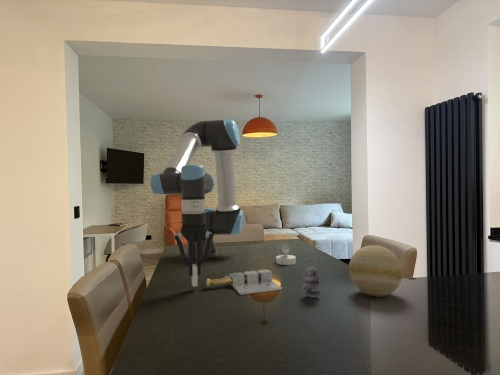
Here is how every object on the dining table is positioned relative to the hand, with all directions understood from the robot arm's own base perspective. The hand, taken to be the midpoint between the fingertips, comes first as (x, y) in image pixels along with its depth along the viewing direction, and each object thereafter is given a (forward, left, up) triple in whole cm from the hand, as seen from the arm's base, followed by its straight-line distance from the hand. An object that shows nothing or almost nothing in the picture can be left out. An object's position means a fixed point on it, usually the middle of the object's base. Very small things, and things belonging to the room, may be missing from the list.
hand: (194, 285), depth 104 cm
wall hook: (-23, +43, -2) cm, 49 cm away
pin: (0, +12, -2) cm, 13 cm away
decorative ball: (+25, +50, -2) cm, 56 cm away
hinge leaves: (0, +19, -2) cm, 19 cm away
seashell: (+20, +31, -2) cm, 37 cm away
